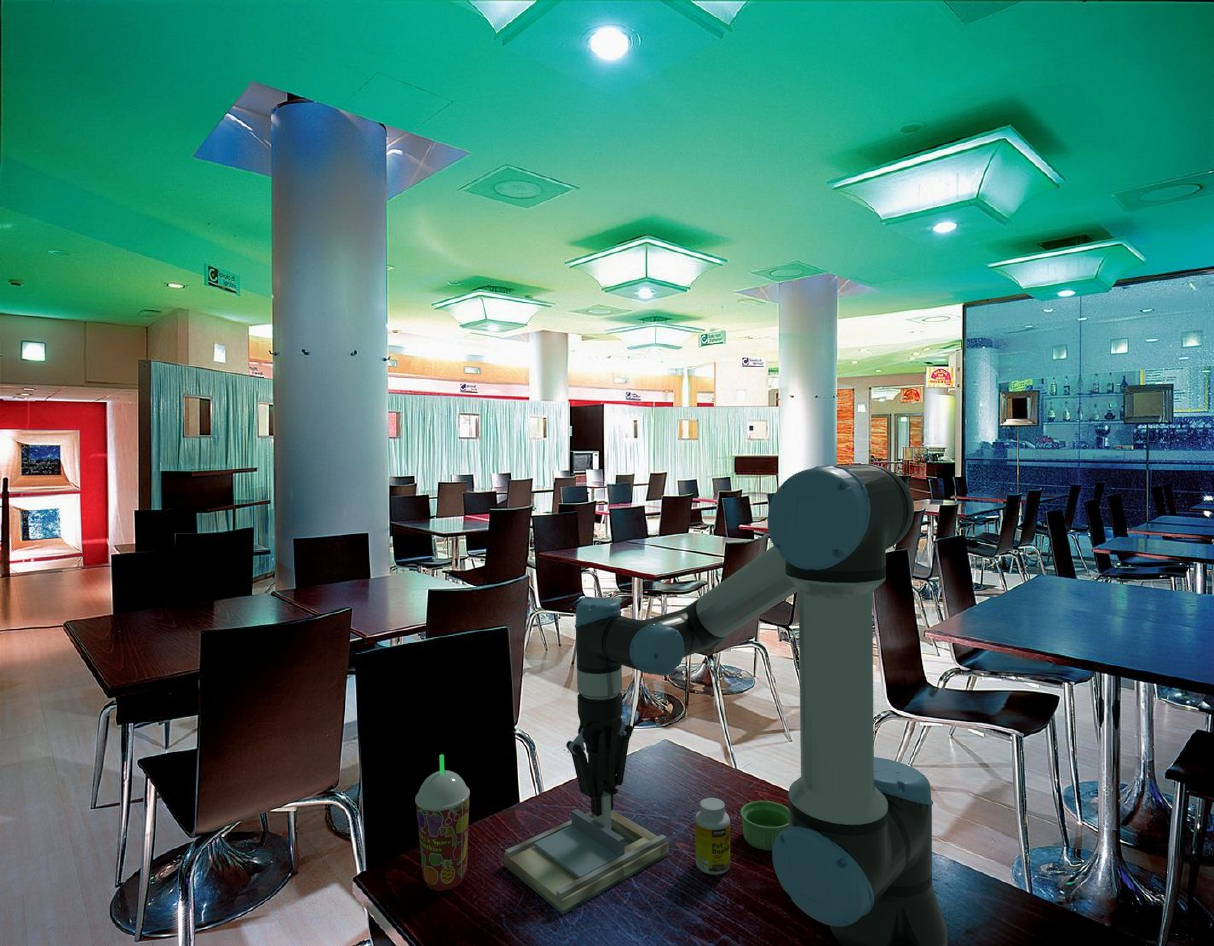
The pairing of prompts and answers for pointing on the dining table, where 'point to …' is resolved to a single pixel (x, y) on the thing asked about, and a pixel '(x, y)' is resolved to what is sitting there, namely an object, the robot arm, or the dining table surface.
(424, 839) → the smoothie
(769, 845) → the ramekin
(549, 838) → the cover
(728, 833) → the supplement bottle
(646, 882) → the dining table surface
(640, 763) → the dining table surface
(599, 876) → the sliding lid box
